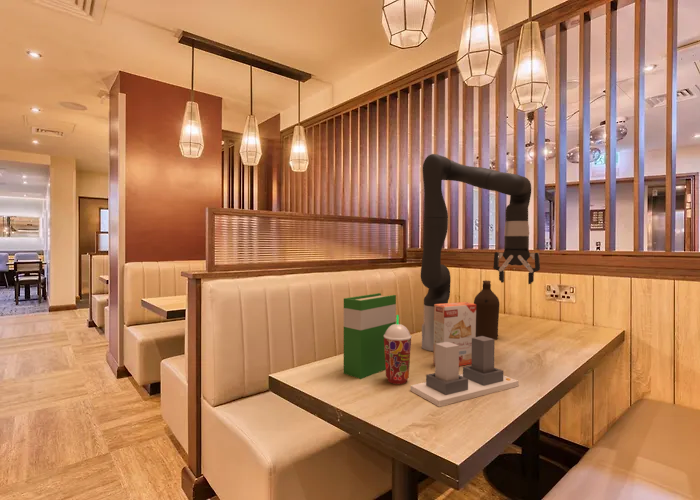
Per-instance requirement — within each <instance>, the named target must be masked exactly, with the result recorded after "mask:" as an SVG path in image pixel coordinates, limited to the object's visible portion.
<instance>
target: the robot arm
mask: <svg viewBox="0 0 700 500" xmlns="http://www.w3.org/2000/svg"><path fill="white" fill-rule="evenodd" d="M422 181H423V191H424V192H423V193H424V195H423V196H424V197H423V200H424V201H423V237H422V238H423V240H422V241H423V244H422V245H423V246H422V251H423V252H422V259H421V267H420V280H421V283H422V285H423V286H424V287H425V288H427V294H426V295H425V296H424V299H423V323H422V324H421V349H422V350H425V351H429V352H433V350H434V304H444V303H449V299H450V296H451V283H452V282H451V281H452V280H451V277H452V276H451V272H450V269H449V268H448V267H447V266H446V265H444V264H443V263H442V262H441V261H442V260H441V257H442V249H443V246H444V243H445V240H446V238H447V233H448V231H449V229H448V228H449V226H448V225H449V213H448V208H447V204H446V202H445V199H444V195H443V189H442V185H443V183H442V181H454V182H458V183H459V182H460V183H465V184H466V185H469V186H473V187H476V188H479V189H483V190H487V191H491V192H497V193H501V194H504V195H507V196H510V197H509V203H508V205H506V208H505V223H504V244H503V245H504V248H503V249H504V251H503V252H499V251H495V252H494V253H493V254H494V255H493V270H496V271H498V280H499V281H500V283H502V284H503V283H505V271H504V270H506V268H507V267H508V266H509V265H510V266H524V267H525V269H527V271H528V274H527V275H528V282H527V283H528V285H531V284H532V283H534V276H535V273H536V272H539V271H540V270H541V262H540V261H541V259H540V253H539V252H530V241H529V240H530V226H529V206H530V202H531V196H532V182H531V181H530V180H529V179H528V178H527V177H526V176H522V175H520V174H516V173H512V172H510V173H509V172H502V171H499V170H495V169H491V168H485V167H479V166H469V165H464V164H461V163H458V162H456V161H454V160H451V159H449V158H448V157H446V156H444V155H439V154H435V153H431V154H429V155H427V156H426V157H425V159H424V161H423V164H422ZM502 257H503V258H504V259H505V261H504V262H503V263H502V265H501V266H499V265H500V264H499V263H500V259H502ZM530 257H531V259H532V260H534V267H532V265H531V264H530V263H529V261H528V260H529V259H530Z"/></svg>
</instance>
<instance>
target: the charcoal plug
mask: <svg viewBox="0 0 700 500" xmlns="http://www.w3.org/2000/svg"><path fill="white" fill-rule="evenodd" d="M495 345H496V344H495V339H492V338H488V337H484V336H480V337H473V338H472V364H471V365H472V369H473V370H476V371H478V372H481V373H483V374H484V373H489V372H493V371H494V368H495V350H496V349H495Z"/></svg>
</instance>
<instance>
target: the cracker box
mask: <svg viewBox="0 0 700 500" xmlns="http://www.w3.org/2000/svg"><path fill="white" fill-rule="evenodd" d="M473 337H476V304H474V302H473V303H472V302H469V301H468V302H467V301H461V302H460V301H459V302H448V303H444V304H434V350H433V351H432V352H433V359H432V361H433V363H432V364H433V365H435V344H436V343H443V342H450V343H453V344H456V345H459V367H462V366H469V365H472V338H473Z"/></svg>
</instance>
